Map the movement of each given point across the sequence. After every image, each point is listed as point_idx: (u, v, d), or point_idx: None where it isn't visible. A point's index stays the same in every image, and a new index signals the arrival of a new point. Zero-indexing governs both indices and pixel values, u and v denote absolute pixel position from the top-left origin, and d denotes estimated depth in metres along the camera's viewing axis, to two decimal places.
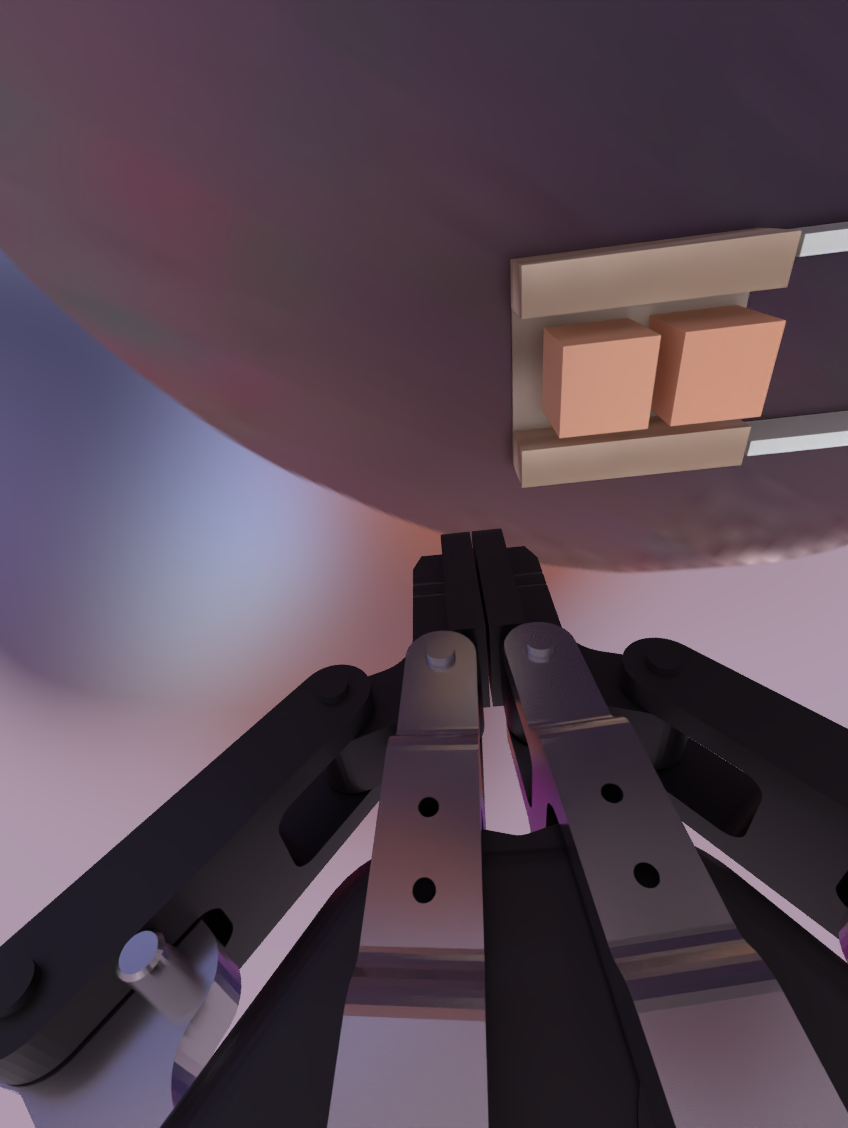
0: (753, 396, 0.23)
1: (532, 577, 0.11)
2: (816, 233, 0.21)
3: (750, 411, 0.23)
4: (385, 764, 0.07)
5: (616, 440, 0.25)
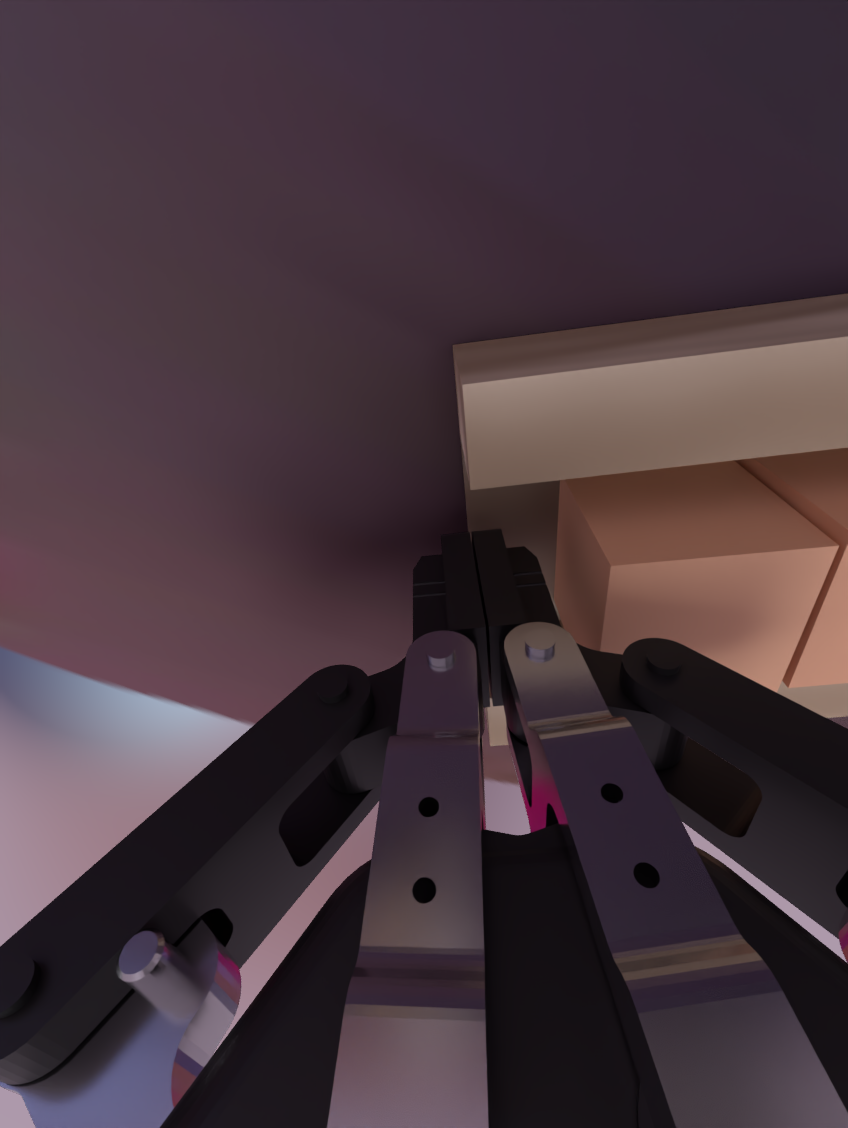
0: None
1: (532, 577, 0.11)
2: None
3: None
4: (385, 764, 0.07)
5: None
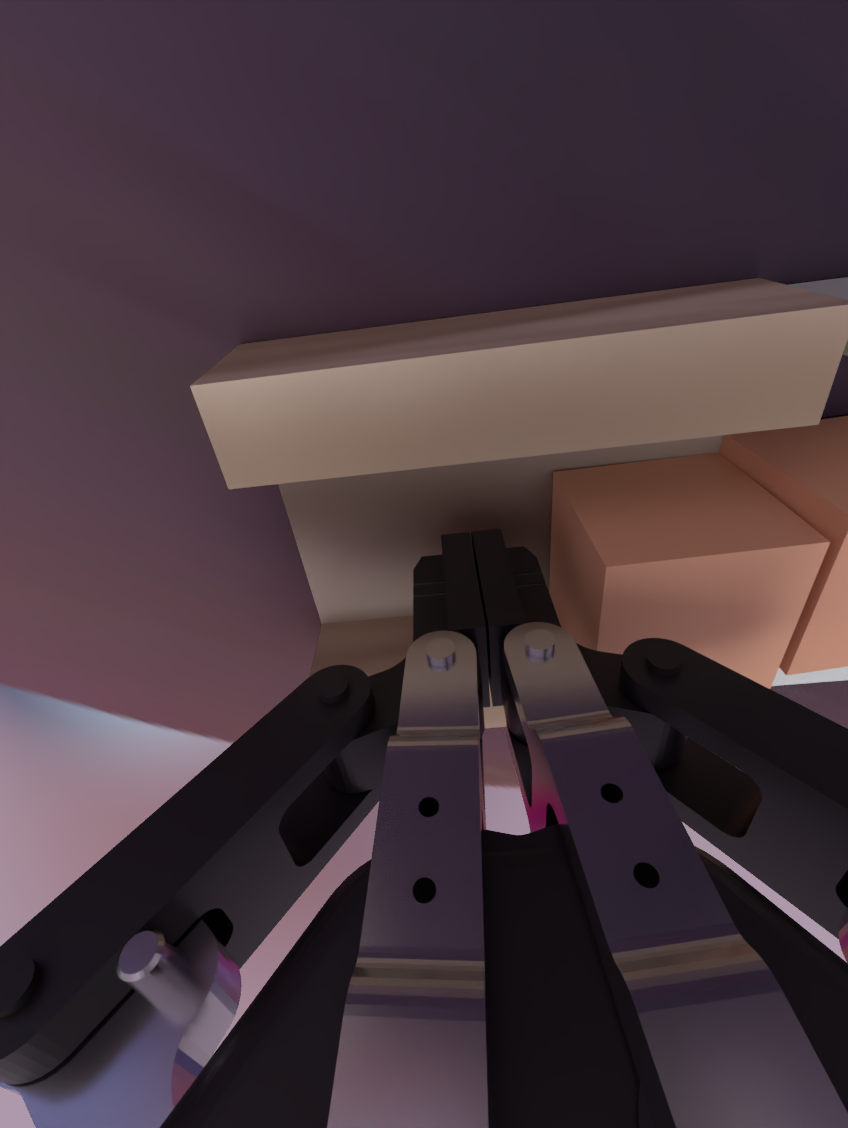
0: None
1: (532, 577, 0.11)
2: None
3: None
4: (385, 764, 0.07)
5: None
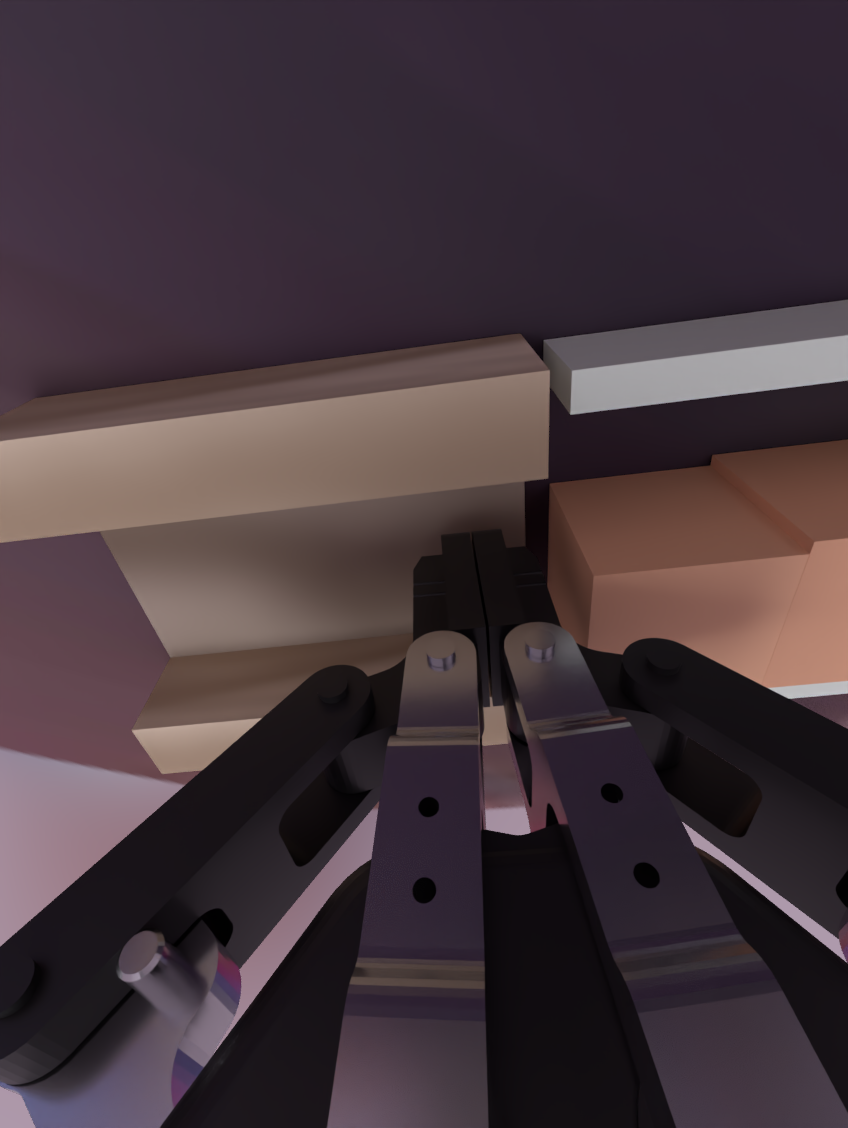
0: None
1: (532, 577, 0.11)
2: (596, 369, 0.09)
3: None
4: (385, 764, 0.07)
5: None
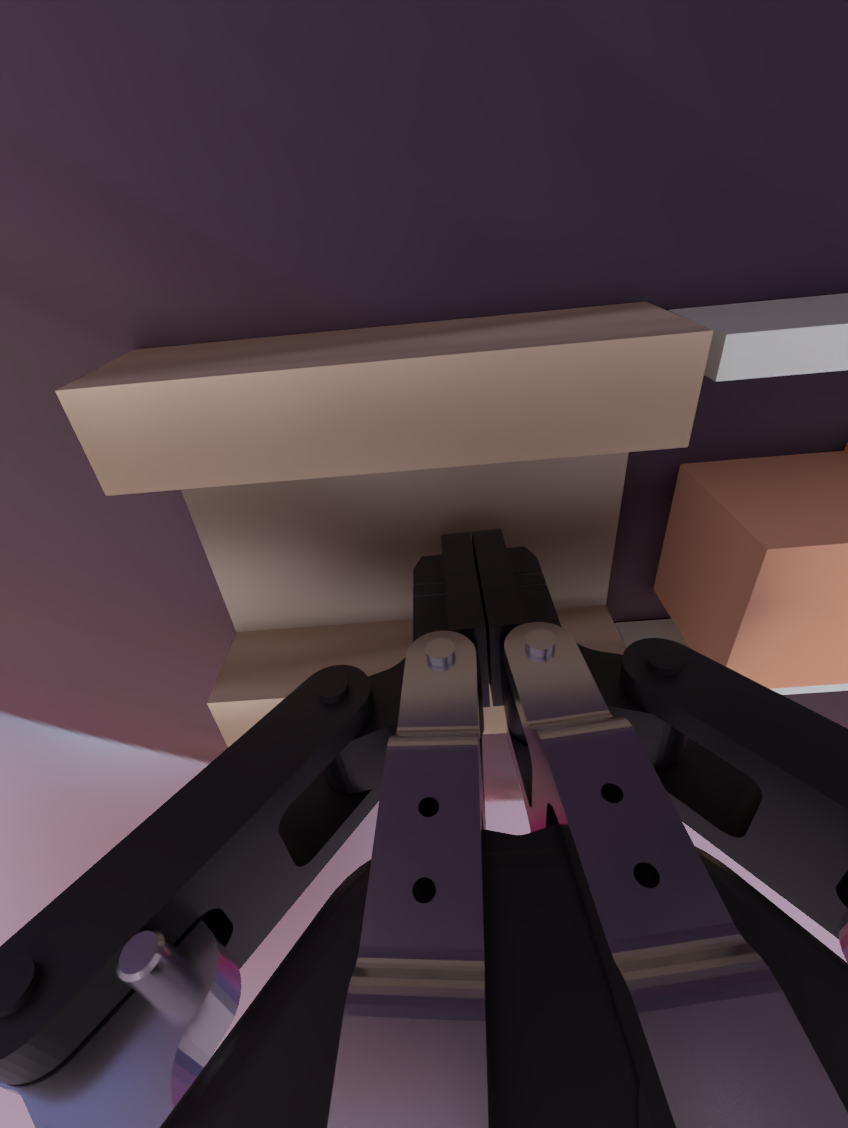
0: None
1: (532, 577, 0.11)
2: (751, 334, 0.09)
3: None
4: (385, 764, 0.07)
5: None
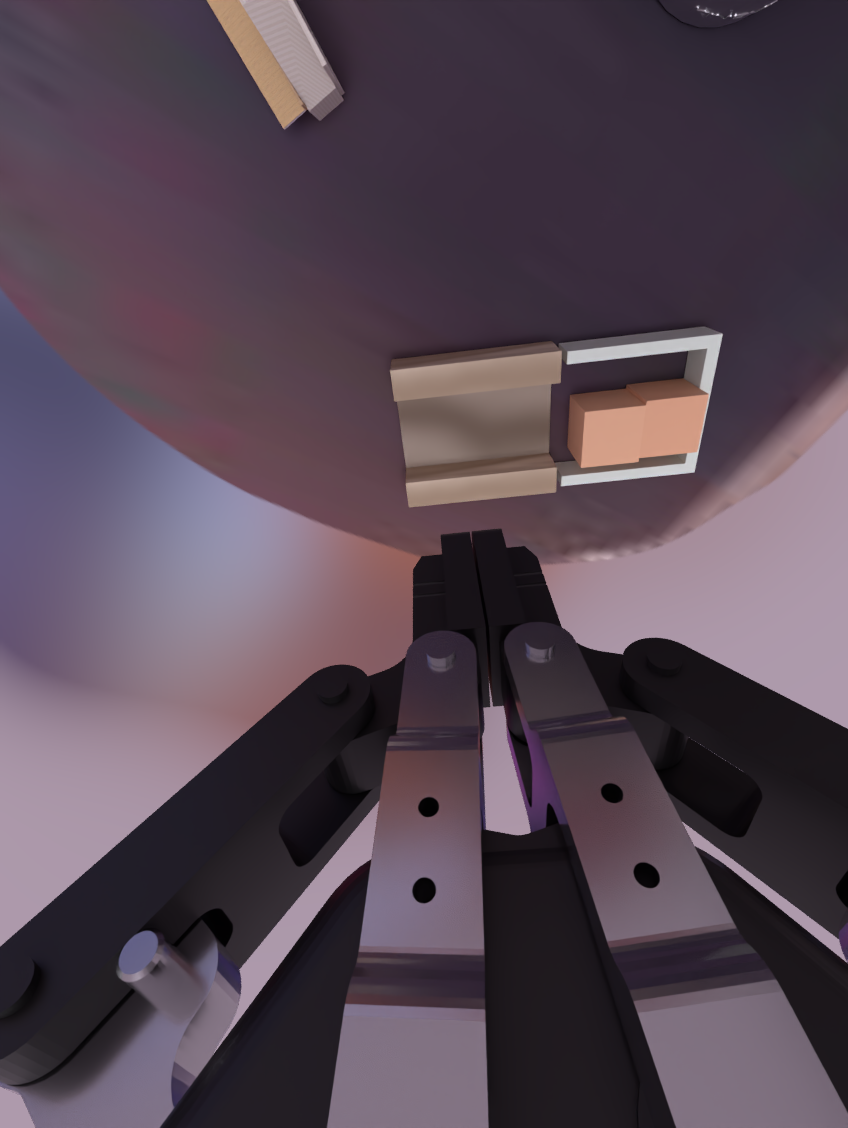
0: (691, 439, 0.35)
1: (532, 577, 0.11)
2: (574, 351, 0.33)
3: (690, 448, 0.36)
4: (385, 764, 0.07)
5: (468, 475, 0.38)
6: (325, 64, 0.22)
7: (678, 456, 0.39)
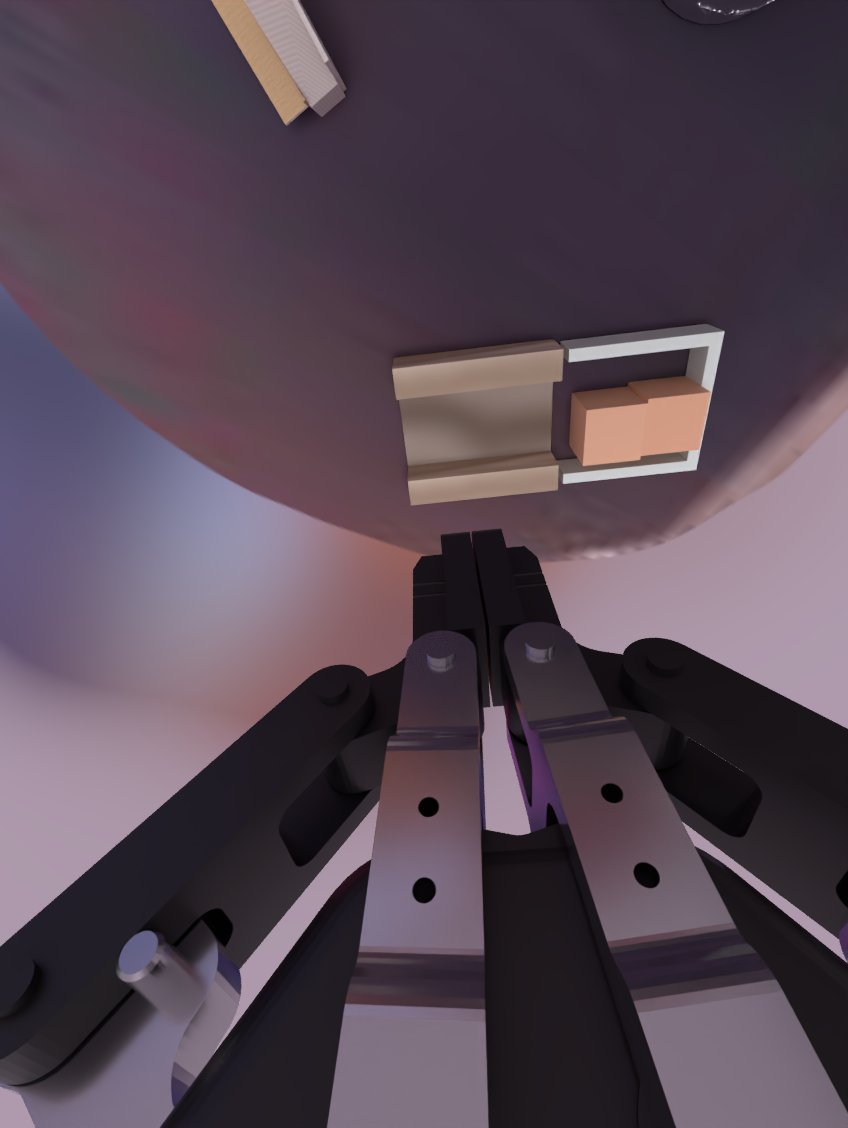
0: (693, 437, 0.36)
1: (532, 577, 0.11)
2: (576, 349, 0.33)
3: (692, 446, 0.36)
4: (385, 764, 0.07)
5: (470, 473, 0.38)
6: (327, 60, 0.22)
7: (680, 453, 0.39)
